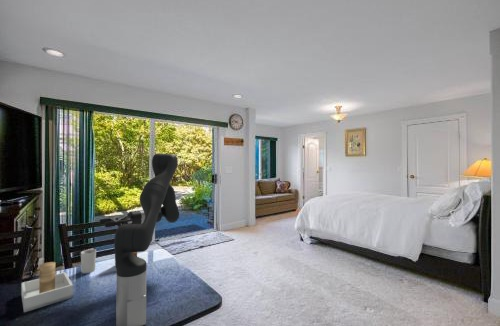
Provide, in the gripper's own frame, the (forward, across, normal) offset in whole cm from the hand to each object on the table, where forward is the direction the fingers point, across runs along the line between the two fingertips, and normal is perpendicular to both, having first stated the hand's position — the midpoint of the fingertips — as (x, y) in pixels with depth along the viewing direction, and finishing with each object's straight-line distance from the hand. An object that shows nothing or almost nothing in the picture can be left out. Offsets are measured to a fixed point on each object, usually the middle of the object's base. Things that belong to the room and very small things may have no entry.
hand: (102, 223), depth 108 cm
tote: (+18, -7, +28) cm, 34 cm away
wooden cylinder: (+18, -7, +27) cm, 33 cm away
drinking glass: (0, -24, +28) cm, 37 cm away
